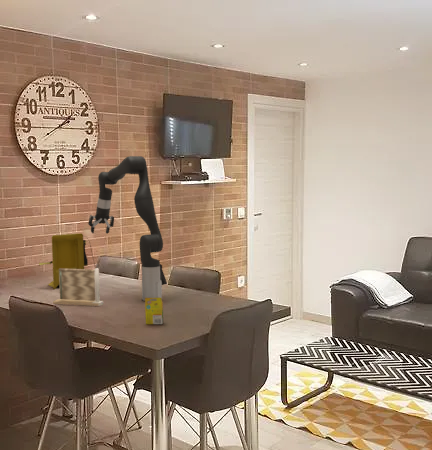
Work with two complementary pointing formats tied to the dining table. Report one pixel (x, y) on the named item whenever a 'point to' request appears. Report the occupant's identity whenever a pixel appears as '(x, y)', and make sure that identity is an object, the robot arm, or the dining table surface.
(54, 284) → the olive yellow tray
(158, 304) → the crayon box
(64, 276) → the beige zigzag patterned panel
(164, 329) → the dining table surface
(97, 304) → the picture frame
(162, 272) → the door stopper
